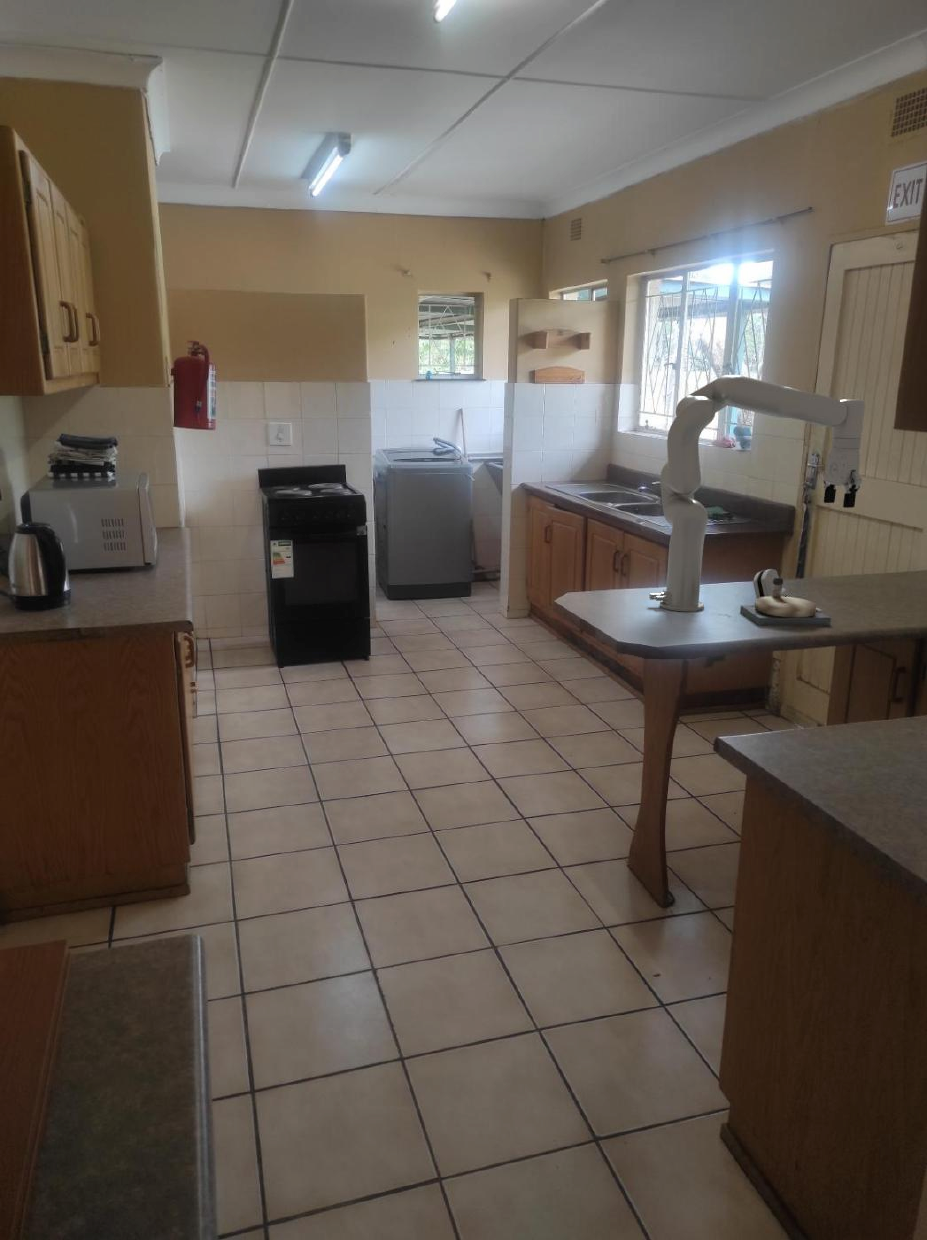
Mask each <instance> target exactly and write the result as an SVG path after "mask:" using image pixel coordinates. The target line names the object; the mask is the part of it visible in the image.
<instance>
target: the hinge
mask: <svg viewBox="0 0 927 1240" xmlns="http://www.w3.org/2000/svg"><path fill="white" fill-rule="evenodd" d="M775 577H780V576H779V574H778V571H777V570H776V569H773V568H769V569H763V570H761V571H758V572H757V573H756V574H755V576H754V577H753V581H752V583H753V589H754V592H755V599H758V598H760V597H767V596H772V593H773V580H774V578H775ZM786 595H787V596H788V592H787V589H786V588H784V587H782V592H781V596H784V597H785V596H786ZM787 596H786V597H787Z"/></svg>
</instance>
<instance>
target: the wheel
mask: <svg viewBox="0 0 927 1240" xmlns="http://www.w3.org/2000/svg"><path fill="white" fill-rule="evenodd" d="M783 584H784V580H783V578H782V577H781V576H779V577H775V578H774V580H773V593H772V596H767V597H760V598H758V599H757V598H755V604H754V605H755V609H756V610H758V611H760V612H762V613H765V614H769V615H775V616H782V617H808V616H812V615H814V614H815V613H816V608H817V604H816V603H815V602H813V601H811V600H807V599H804V598H799V597H793V596H786V597H784V596H781V592H782V588H783Z"/></svg>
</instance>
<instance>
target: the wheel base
mask: <svg viewBox="0 0 927 1240" xmlns="http://www.w3.org/2000/svg"><path fill="white" fill-rule="evenodd" d="M739 613H740V614H742V616H744V617H745V618H746V619H749V621H750V622H752V623H753V624H756V625H757V626H759V627H763V626H765V627H767V626H768V627H772V626H773V627H776V626H777V627H778V626H780V627H781V626H783V627H784V626H789V627H790V626H795V625H799V626H801V627H802V626H831V622H832V617H831V616H829V615H827V614H826V613H824V612H823V611H822V609H821V608H818V607H816V613H815V614H814V615H812V616H808V617H782V616H775V615H769V614H765V613H762V612H760V611H758V610H756V609H755V604H751V605H750V604H748V605H747V604H741V605H740V609H739Z"/></svg>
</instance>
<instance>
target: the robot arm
mask: <svg viewBox="0 0 927 1240" xmlns="http://www.w3.org/2000/svg"><path fill="white" fill-rule="evenodd" d="M675 407H676V408H675V416H676V417H675V418H674V419H673V421H672V423H671V425H670V427H669V430H668V434H667V443H666V445H667V446H666V448H667V462H666V463H665V464H664V465H663V467H662V469H661V471H660V479H659V482H660V483H659V484H660V492H661V504H662V511H663V512H662V513H663V516H664V518H665V521H666V522H667V523H668V524H669V525H670V526H672V528H671V529H672V530H671V534H670V540H669V546H668V558H667V560H668V561H667V562H668V563H667V574H666V575H667V576H666V587H665V588H666V589H663V590H662V591H661V592H660V593H659V592H658V593H655V592H654V593H653V592H650V593H649V595H648V596H649V600H654V601H657V602H659V607H661V608H663V609H665V610H670V611H673V612H674V611H675V612H686V613H688V612H698V611H702V610H703V609H704V608H705V604H704V602H702V601H700V592H701V591H700V590H701V576H702V566H703V555H704V554H703V553H704V552H703V551H704V542H705V538H706V537H705V536H706V531H707V527H708V521H709V520H708V513H707V512H708V511H707V510H706V507H705V506H704V504H702V503H701V502H700V501H698V500H696V499H695V495H694V493H695V492H696V491H698V490H699V488H700V486H701V484H702V474H701V473H702V472H701V466H700V465H701V464H700V463H701V462H700V455H699V442H700V441H699V440H700V437H701V434H702V432H703V431H704V429H706V427H707V426H709V425H710V424H711V422H713V420H714V419H715V417H716V413H718V412H720V411H721V410H723V409H725V408H726V407H731V408H737V409H741V410H746V411H750V412H754V413H757V414H761V415H766V416H769V417H774V418H775V417H776V418H783V419H784V418H785V419H793V420H799V421H805V422H808V423H809V424H811V425H814V426H817V427H828V428H833V430H832V439H831V446H830V447H831V448H830V449H829V452H828V456H827V459H826V464H825V465H826V466H825V469H824V470H825V471H823V473H822V475H823V484H824V485H823V488H824V495H823V503H824V504H834V503H835V501H836V494H837V489H836V487H837V486H839V487H843V486H844V489H845V491H846V492H845V493H844V494H843V495H844V496H843V503H842V507H843V508H845V509H846V508H847V509H849V508H854V507H855V504H856V496H857V494H858V491H859V489H860V488H861V484H862V481H863V478H862V477H861V476H860V463H861V461H860V460H861V459H860V457H861V456H860V451H861V445H862V436H863V427H864V421H865V420H864V419H865V412H866V402H865V401H864V400H863V399H852V398H851V399H850V398H849V399H846V398H845V399H838V398H835V397H830V396H826V395H822V394H817V393H813V392H809V391H804V390H800V389H797V388H793V387H790V386H786V385H781V384H777V383H772V382H768V381H765V380H761V379H757V378H752V377H749V376H744V375H740V374H725V375H722V376H719V377H718V378H716V379H714V380H712V381H711V382H709V383H707V384H706V385H704V386H702V387H700V388H698V389H697V390H695V391H693V392H691V393H690V394H687V395H686V396H685V397H683V398H682V399H681V400H680V401H679V402H678V403H677V405H676V406H675Z"/></svg>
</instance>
